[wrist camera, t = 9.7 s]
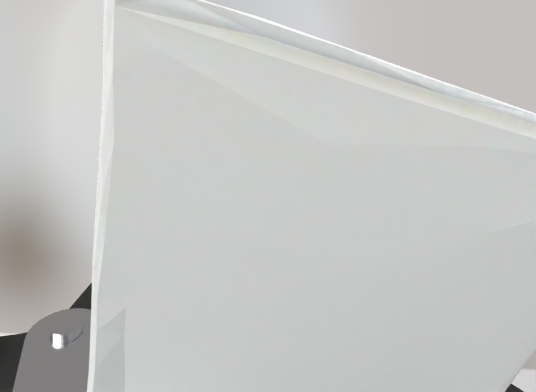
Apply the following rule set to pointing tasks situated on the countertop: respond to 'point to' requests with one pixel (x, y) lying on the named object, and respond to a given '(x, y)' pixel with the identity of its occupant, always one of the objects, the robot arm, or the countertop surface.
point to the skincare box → (301, 215)
